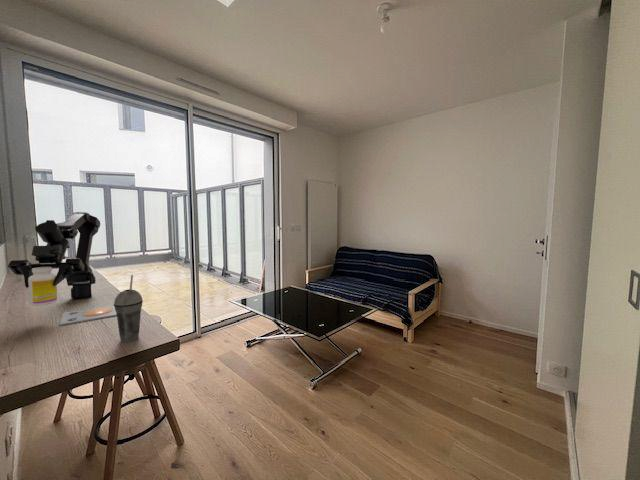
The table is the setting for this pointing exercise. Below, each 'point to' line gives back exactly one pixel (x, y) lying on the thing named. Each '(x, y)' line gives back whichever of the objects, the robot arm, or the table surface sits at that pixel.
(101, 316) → the plate
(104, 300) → the table surface
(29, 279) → the supplement bottle
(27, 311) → the table surface
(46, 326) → the table surface
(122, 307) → the beverage cup
